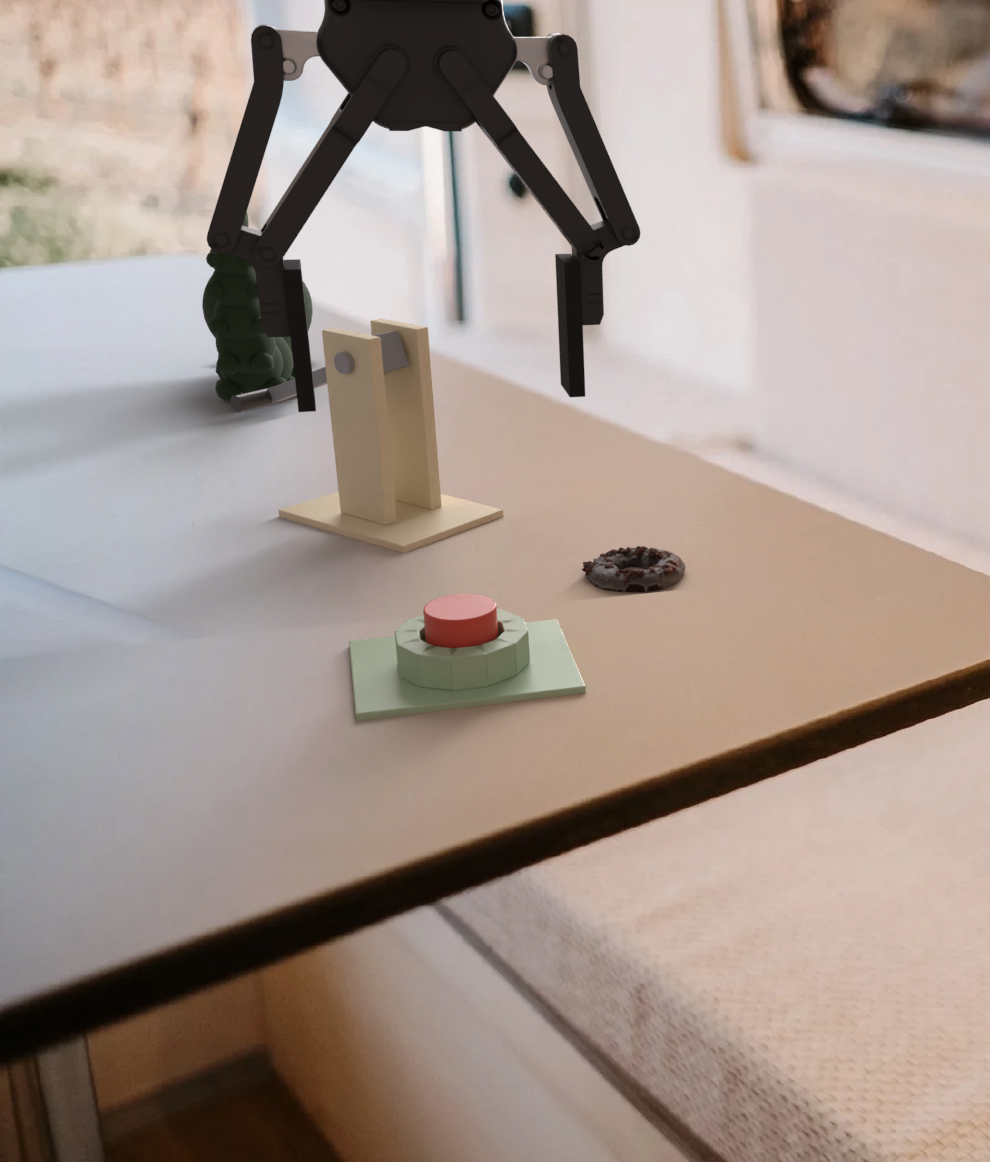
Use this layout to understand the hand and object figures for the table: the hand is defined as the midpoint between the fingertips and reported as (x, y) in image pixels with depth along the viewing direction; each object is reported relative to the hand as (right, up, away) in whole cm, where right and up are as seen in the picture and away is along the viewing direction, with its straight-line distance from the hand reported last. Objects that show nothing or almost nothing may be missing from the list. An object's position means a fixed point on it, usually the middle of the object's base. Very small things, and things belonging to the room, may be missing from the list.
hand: (443, 397), depth 71 cm
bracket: (-12, -5, +30) cm, 33 cm away
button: (0, -12, +5) cm, 13 cm away
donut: (+6, -10, +21) cm, 24 cm away
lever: (-16, +4, +29) cm, 33 cm away
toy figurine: (-35, +9, +63) cm, 73 cm away
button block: (0, -15, +6) cm, 16 cm away
